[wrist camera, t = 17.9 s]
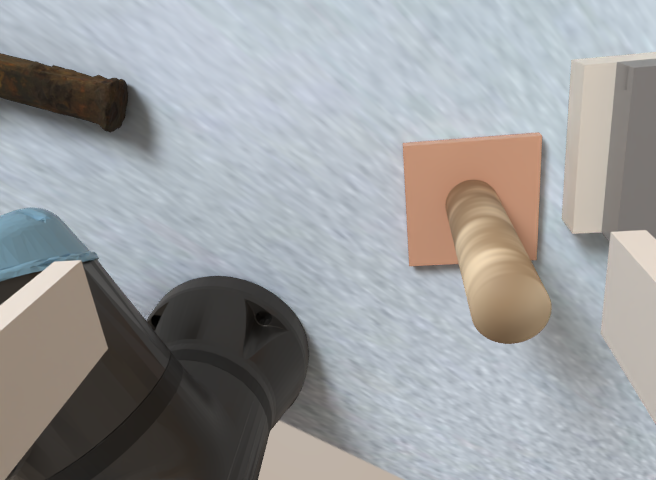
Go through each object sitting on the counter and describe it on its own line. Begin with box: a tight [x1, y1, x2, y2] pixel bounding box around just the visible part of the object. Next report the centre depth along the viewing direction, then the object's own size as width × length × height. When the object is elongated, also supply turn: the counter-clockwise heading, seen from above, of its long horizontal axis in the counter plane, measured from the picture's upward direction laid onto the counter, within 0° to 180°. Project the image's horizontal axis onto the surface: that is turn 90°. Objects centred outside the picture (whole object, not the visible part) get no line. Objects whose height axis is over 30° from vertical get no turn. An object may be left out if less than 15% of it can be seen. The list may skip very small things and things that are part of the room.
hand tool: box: [0, 53, 128, 132], centre depth 42 cm, size 19×4×5 cm, turn 74°
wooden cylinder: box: [445, 180, 551, 344], centre depth 37 cm, size 4×4×16 cm
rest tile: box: [403, 133, 542, 266], centre depth 44 cm, size 10×10×1 cm
